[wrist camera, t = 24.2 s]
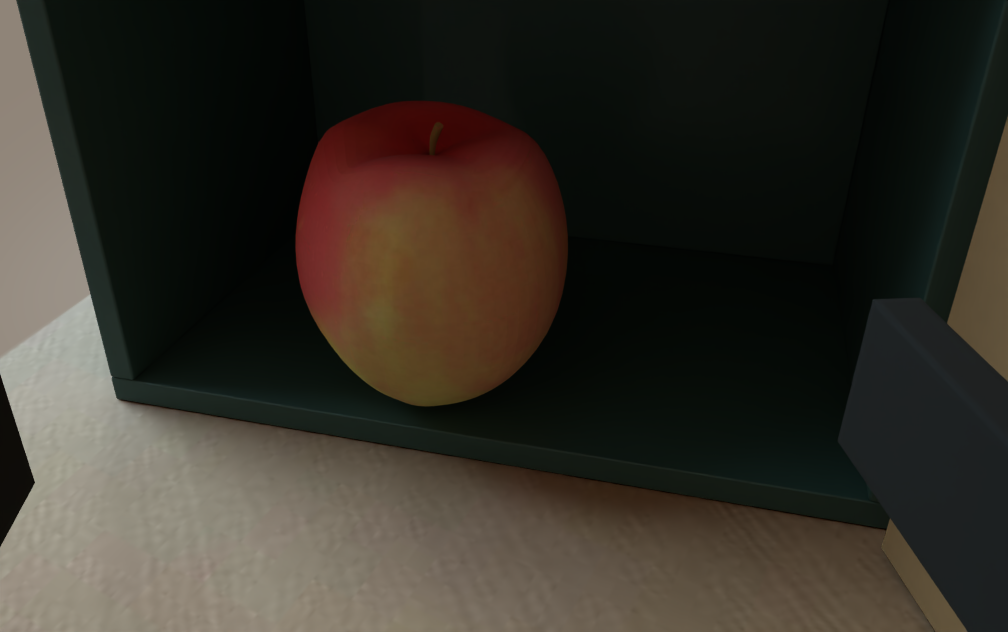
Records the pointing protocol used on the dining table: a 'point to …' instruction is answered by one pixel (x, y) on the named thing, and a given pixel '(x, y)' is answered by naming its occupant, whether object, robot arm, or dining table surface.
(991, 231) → the cupboard door
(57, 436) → the dining table surface
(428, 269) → the apple
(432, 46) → the cupboard
